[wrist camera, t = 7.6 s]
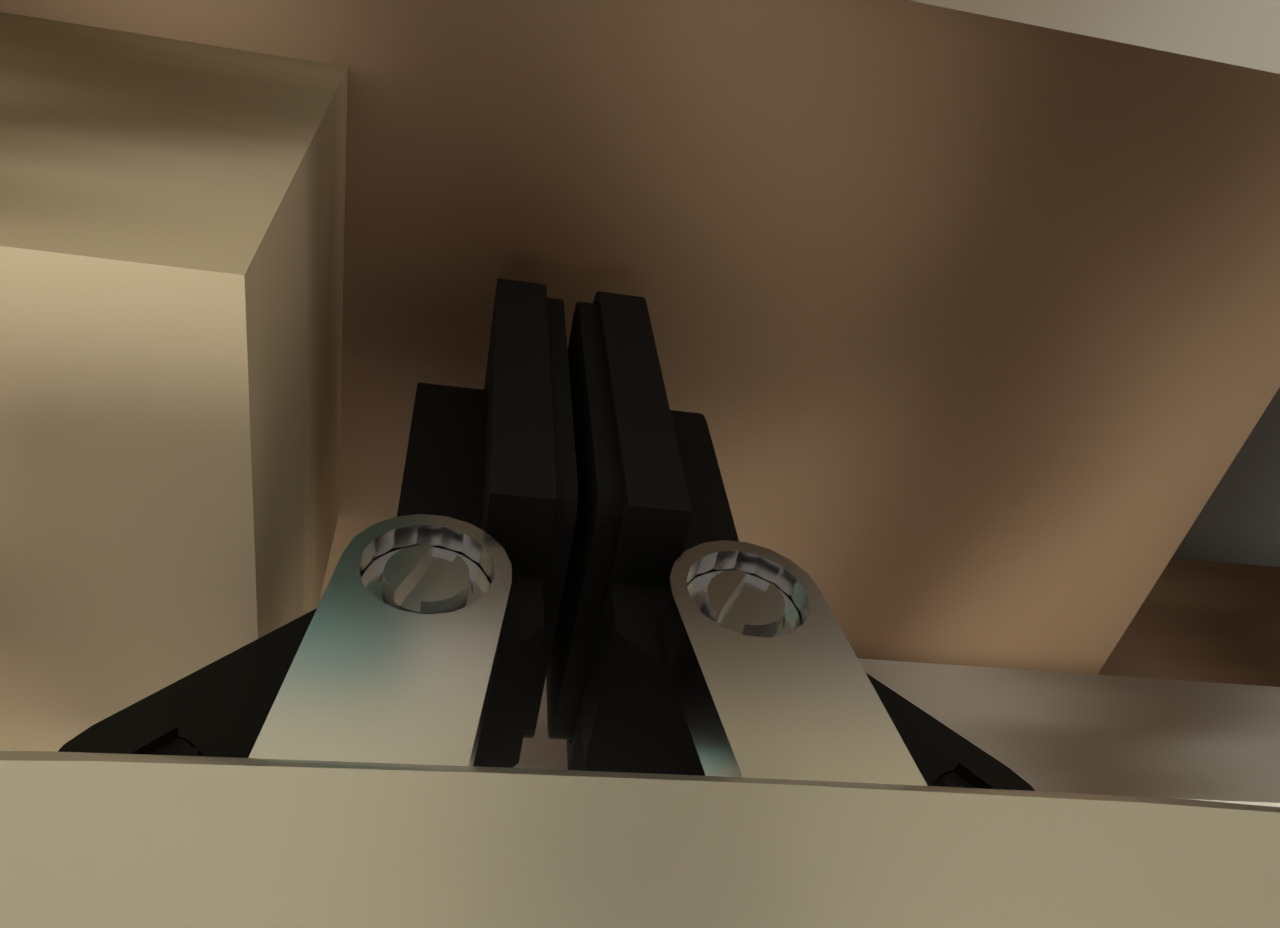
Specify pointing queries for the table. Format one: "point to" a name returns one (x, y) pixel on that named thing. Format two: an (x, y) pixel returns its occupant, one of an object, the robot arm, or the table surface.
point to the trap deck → (871, 316)
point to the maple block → (160, 360)
